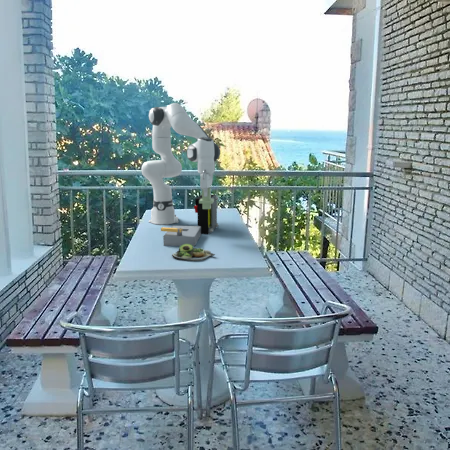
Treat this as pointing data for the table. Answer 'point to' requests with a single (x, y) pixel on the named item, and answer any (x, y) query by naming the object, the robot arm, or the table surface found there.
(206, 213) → the electrical component
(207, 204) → the plug
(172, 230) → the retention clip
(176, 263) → the table surface
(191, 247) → the salad plate
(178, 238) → the grey flat block
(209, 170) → the robot arm
